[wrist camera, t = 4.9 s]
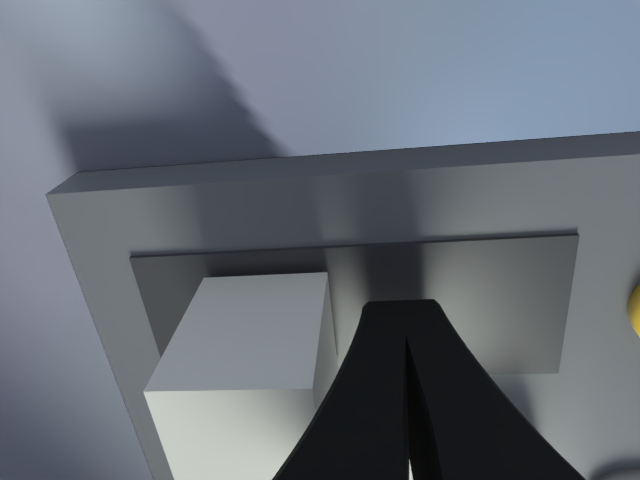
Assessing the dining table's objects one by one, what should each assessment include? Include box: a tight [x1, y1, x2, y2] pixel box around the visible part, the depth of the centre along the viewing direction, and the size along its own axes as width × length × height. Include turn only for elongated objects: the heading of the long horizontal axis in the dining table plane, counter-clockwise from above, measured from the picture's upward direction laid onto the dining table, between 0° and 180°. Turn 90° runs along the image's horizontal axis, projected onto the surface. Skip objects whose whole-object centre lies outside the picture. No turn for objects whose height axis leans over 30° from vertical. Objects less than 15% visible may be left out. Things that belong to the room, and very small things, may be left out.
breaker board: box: [45, 131, 640, 480], centre depth 12 cm, size 13×11×2 cm
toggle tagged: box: [143, 272, 338, 480], centre depth 9 cm, size 2×2×3 cm
